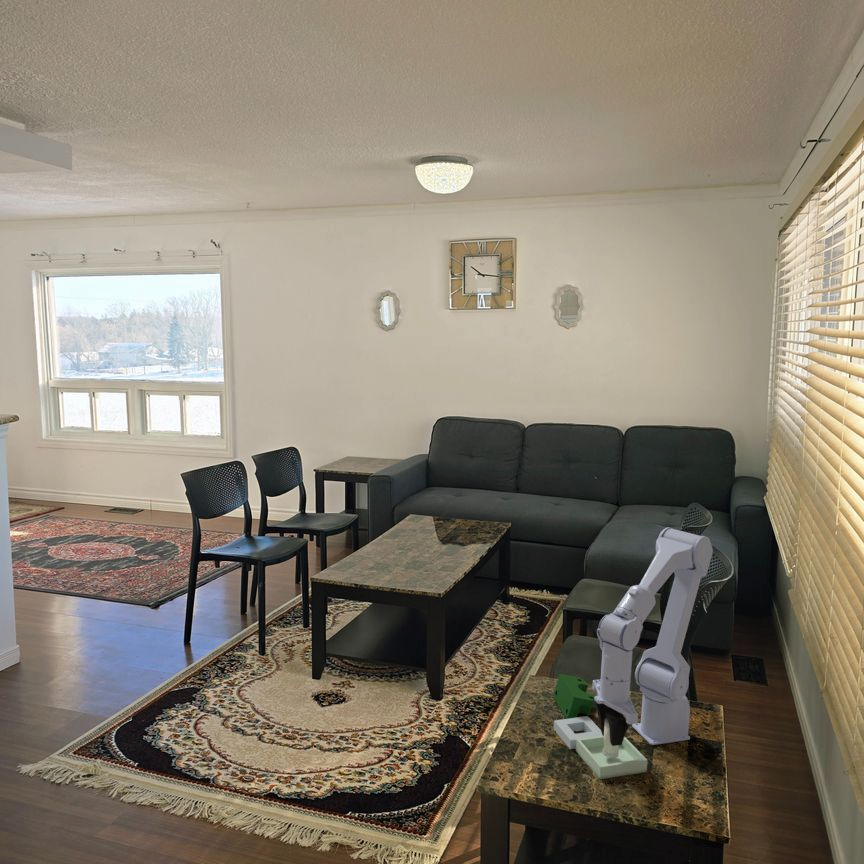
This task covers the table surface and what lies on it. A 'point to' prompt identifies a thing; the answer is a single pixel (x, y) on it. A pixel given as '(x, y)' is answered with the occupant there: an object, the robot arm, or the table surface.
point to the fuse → (609, 743)
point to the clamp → (573, 696)
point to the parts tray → (610, 767)
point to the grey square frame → (576, 729)
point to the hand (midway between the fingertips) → (611, 739)
